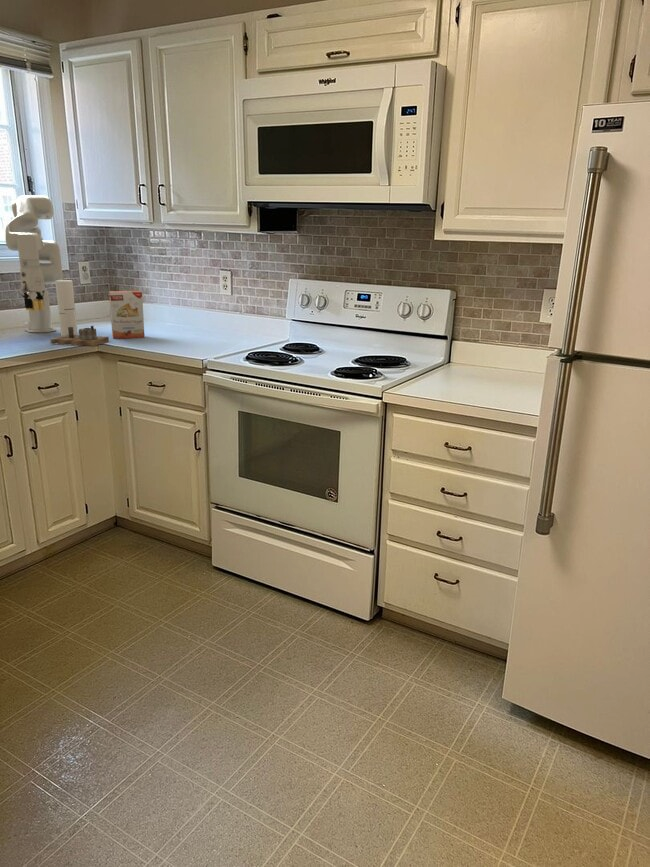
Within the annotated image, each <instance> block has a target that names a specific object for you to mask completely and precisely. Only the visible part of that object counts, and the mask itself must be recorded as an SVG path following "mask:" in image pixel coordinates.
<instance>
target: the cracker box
mask: <svg viewBox="0 0 650 867" xmlns="http://www.w3.org/2000/svg"><path fill="white" fill-rule="evenodd" d="M108 296H109V308H110V321H111V322H110V323H111V333H112V334H111V335H112V338H113V339H114V340H115V339H137V338H140V339H141V338H145V322H144V307H143V305H144V303H143V302H144V301H143V292H142V290H113V291H112V290H110V291H109V294H108Z"/></svg>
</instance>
